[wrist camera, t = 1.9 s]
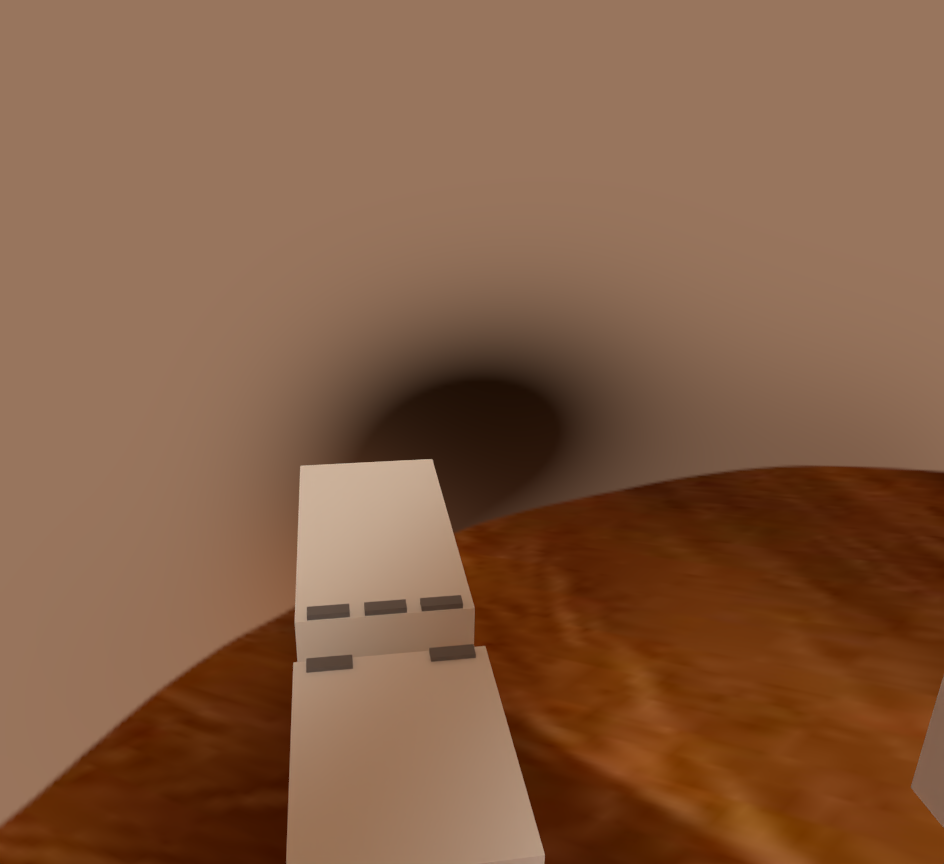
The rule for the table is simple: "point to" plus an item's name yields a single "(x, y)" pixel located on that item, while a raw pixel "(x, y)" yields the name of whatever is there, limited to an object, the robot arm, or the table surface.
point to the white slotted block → (377, 562)
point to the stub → (405, 763)
